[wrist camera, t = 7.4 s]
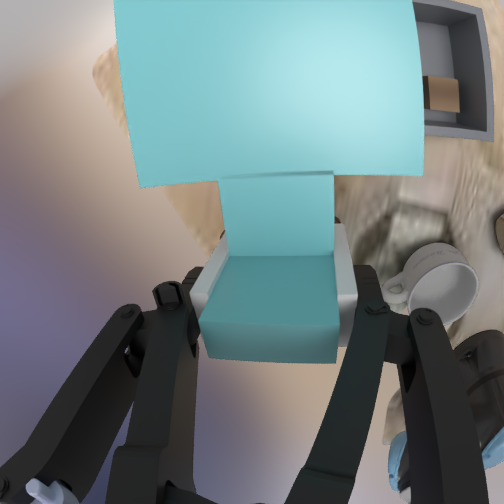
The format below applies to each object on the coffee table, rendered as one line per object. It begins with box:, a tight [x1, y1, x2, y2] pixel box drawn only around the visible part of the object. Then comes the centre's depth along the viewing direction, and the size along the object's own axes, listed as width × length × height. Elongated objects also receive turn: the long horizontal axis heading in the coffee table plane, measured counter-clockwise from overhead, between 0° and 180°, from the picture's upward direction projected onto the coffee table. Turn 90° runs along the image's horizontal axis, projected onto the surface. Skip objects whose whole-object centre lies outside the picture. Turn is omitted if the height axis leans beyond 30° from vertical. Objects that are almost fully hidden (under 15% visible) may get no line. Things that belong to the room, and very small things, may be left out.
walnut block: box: [422, 76, 460, 113], centre depth 28 cm, size 4×4×3 cm
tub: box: [412, 0, 494, 142], centre depth 25 cm, size 15×13×9 cm
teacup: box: [381, 243, 479, 326], centre depth 38 cm, size 14×11×8 cm
